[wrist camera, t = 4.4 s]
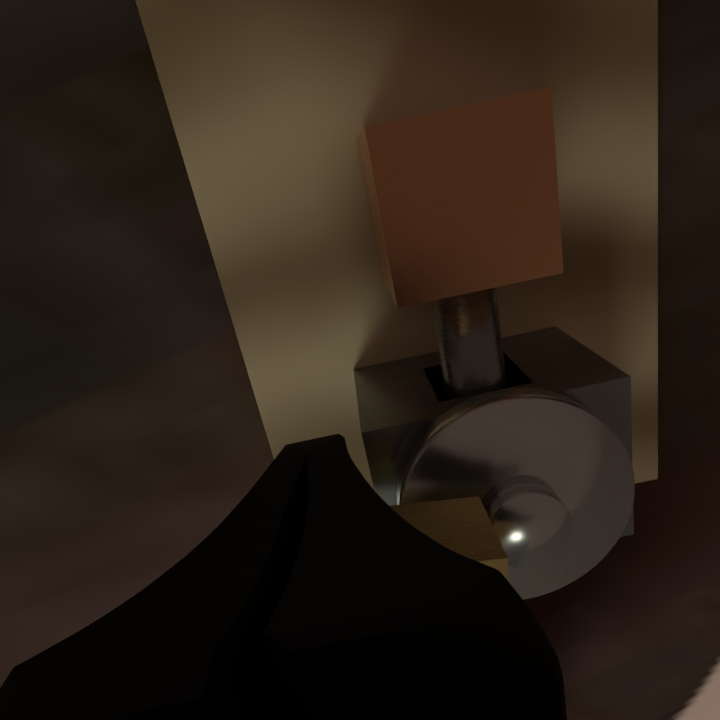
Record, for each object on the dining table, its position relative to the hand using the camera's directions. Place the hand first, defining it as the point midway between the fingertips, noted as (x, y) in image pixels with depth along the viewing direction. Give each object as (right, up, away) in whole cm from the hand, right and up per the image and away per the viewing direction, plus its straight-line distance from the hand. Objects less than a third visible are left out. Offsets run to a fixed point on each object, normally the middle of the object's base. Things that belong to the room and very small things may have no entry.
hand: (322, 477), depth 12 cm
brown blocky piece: (+4, +4, +5) cm, 7 cm away
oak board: (+3, +6, +6) cm, 9 cm away
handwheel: (+4, -1, +2) cm, 4 cm away
